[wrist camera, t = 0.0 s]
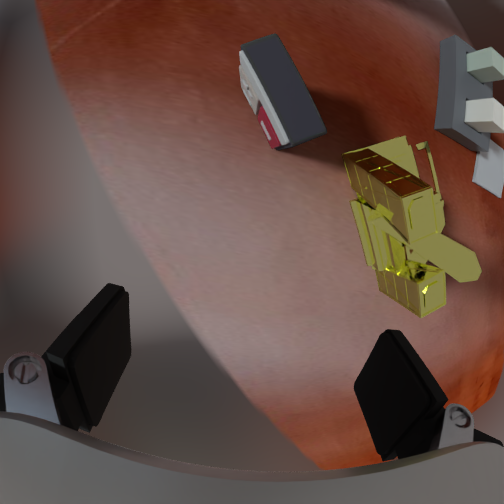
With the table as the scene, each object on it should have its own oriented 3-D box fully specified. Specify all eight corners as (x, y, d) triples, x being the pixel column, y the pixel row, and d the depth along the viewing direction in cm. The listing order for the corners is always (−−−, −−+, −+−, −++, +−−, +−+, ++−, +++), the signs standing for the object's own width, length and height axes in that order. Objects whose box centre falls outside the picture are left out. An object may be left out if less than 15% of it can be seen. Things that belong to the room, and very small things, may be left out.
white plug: (454, 102, 31) (493, 97, 22) (469, 112, 32) (507, 110, 22) (453, 122, 33) (492, 121, 23) (467, 131, 33) (506, 133, 23)
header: (440, 41, 28) (455, 34, 24) (475, 66, 29) (491, 63, 24) (434, 128, 35) (451, 128, 30) (470, 150, 35) (488, 152, 31)
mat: (479, 133, 34) (482, 133, 33) (505, 153, 35) (507, 153, 34) (472, 181, 37) (474, 182, 37) (498, 197, 38) (500, 198, 37)
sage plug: (456, 57, 28) (491, 46, 19) (470, 67, 28) (505, 60, 19) (456, 74, 29) (492, 65, 20) (470, 84, 30) (507, 79, 20)
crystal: (368, 295, 45) (409, 350, 30) (326, 152, 37) (371, 151, 22) (449, 255, 42) (501, 291, 28) (423, 122, 35) (488, 118, 20)
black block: (238, 85, 33) (232, 46, 19) (266, 74, 33) (275, 31, 19) (271, 152, 37) (284, 150, 23) (299, 141, 36) (328, 133, 22)
